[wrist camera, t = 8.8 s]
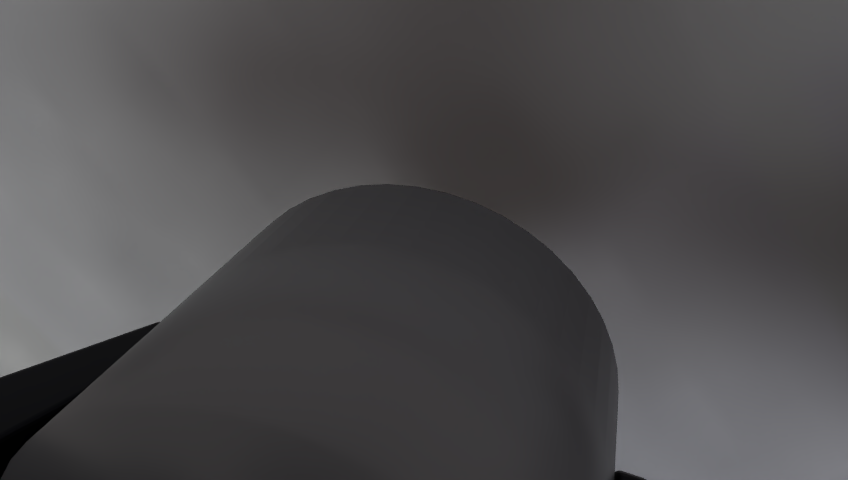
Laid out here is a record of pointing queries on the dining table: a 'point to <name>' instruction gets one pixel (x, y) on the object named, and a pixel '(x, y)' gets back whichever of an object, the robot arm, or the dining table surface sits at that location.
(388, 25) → the dining table surface
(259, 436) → the gray rounded pebble
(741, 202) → the dining table surface
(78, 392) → the robot arm
